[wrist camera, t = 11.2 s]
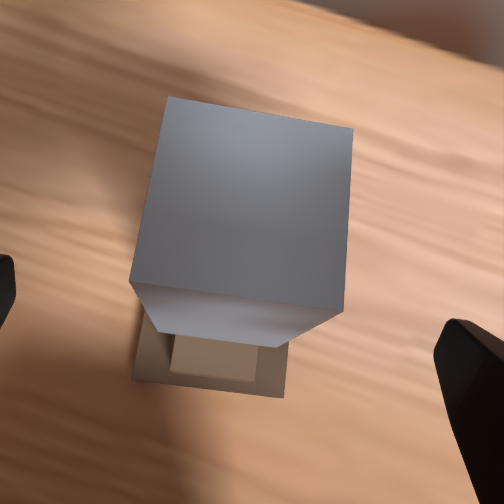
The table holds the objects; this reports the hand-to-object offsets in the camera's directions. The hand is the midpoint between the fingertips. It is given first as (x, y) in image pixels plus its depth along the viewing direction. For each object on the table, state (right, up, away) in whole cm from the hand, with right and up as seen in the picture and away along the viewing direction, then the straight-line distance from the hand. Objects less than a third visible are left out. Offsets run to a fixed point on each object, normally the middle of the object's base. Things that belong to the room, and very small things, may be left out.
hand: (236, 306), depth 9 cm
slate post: (-1, 0, +10) cm, 10 cm away
